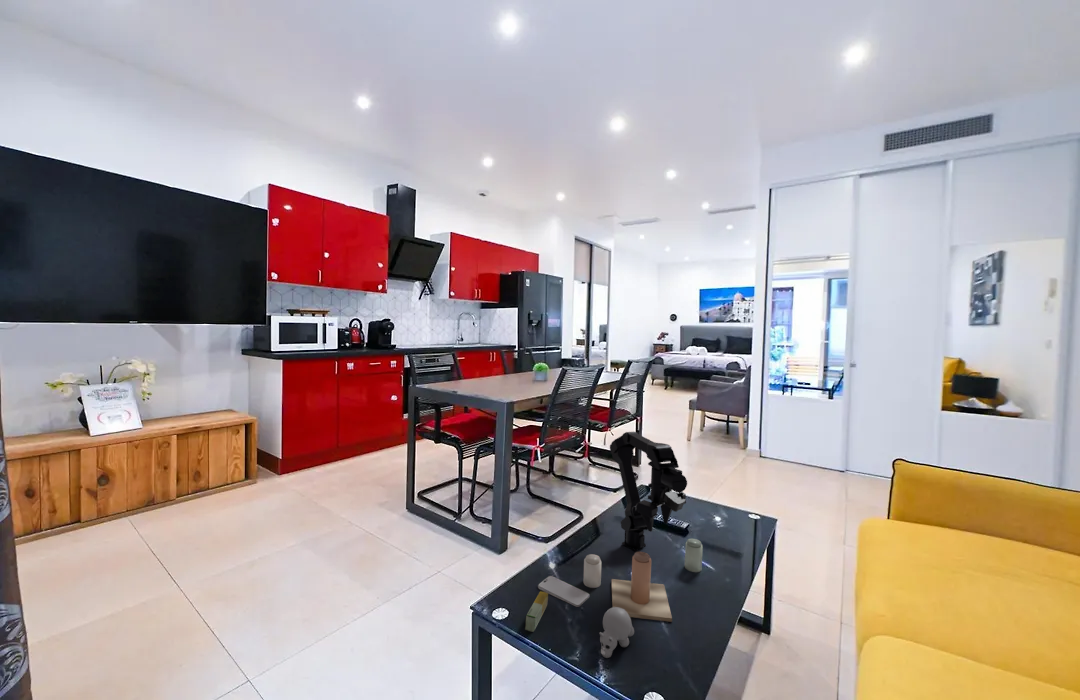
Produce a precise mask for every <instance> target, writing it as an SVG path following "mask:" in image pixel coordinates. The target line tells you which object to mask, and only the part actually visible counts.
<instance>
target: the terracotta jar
mask: <svg viewBox="0 0 1080 700" xmlns="http://www.w3.org/2000/svg"><path fill="white" fill-rule="evenodd" d="M631 559H632V560H631V580H630V581H631V600H632V601H633V602H635V603H637V604H647V603H649V601H650V583H651V580H652V579H651V577H652V558H651V556H650V554H649V553H647V552H645V551H635V552H634V554H633V555H632V558H631Z"/></svg>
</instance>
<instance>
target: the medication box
mask: <svg viewBox="0 0 1080 700" xmlns="http://www.w3.org/2000/svg"><path fill="white" fill-rule="evenodd" d="M548 601H549V594H548V593H546V592H544V591H542V590H540V591H539V592H538V594H537V596H536V598H535V600H534V601H533V603H532V605H531V606H530V608H529V610H528V611H527V613H526V616H525V623H524V624H525V625H524V626H525V627H524V630H525V631H528V632H533V633H534V632H535V631H536V628H537V627H538V624H539V622H540V621H541V618H542V616H543V615H544V612H546V611H545V610H546V609H547V607H548Z"/></svg>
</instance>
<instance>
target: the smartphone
mask: <svg viewBox="0 0 1080 700" xmlns="http://www.w3.org/2000/svg"><path fill="white" fill-rule="evenodd" d="M537 588H538V589H539V590H540V591H541V592H545V593H548V595H551V596H553V597H555V598H557V599H559V600H561V601H563V602H565V603H568V604H570V605H572V606H574V607H576V608H577V607H581V606H582V605H583V604H584V603H585V602H586V601H587V600H588V599H589V598H590V595H591V594H590V593H589V592H587V591H585V590H583V589H580V588H579V587H576V586H574V585H572V584H571V583H568V582H566V581H563V580H561V578H557V577H555V576H553V575H548V576H547V577H546V578H544V579H543V580H542V581H540V583H538V584H537Z"/></svg>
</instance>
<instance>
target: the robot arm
mask: <svg viewBox="0 0 1080 700" xmlns="http://www.w3.org/2000/svg"><path fill="white" fill-rule="evenodd" d="M635 449H637V450H640V451H641V452H643V453H645V454H646V457H647V459H648V460H649V461H648V463H647V465H648V466H650V467H651V471H650V472H651V473H650V474H651V475H650V477H651V478H650V482H649V483H648V487H647V488H650V494H649V495H647V499H648V500H650V501H651V502H650V501H648V500H645V499H643V500H641V497H640V493H639V489H638V484H637V480H636V477H635V473H634V468H633V467H634V466H633V463H632V461H633V457H634V454H635V453H634V450H635ZM609 452H610V453H611V456H612V459H613V460H614V461H615V463H617V465H618V468H619V473H620V476H621V481H622V486H623V490H624V495H625V499H626V507H625V510H624V516H625V517H624V518H623V519H622V520H620V527H621V529H622V530H623V531H624V541H622V542H621V545H622V546H624V547H626V548H629V549H631V550H633V551H635V552H638V551H639V550H641V549H642V548H645V547H646V546H647V544H646V543H645V538H646V537H645V531H647V530H648V532H650V533H651V532H653V527H654V520H655V518H656V517H657V516H658V511H659V509H658V508H659V507H660V510H661V517H662V520H663V524H665V525H667V524H668V522H669V520H670V517H671V515H672V512H674V513H677V512H678V511H680V510H682V509H683V507H684V505H686V504H687V502H686V501H687V496H686V493H685V492H684V491H685V490H686V488H687V486H688V480H687V477H686V476H685V475H684V474H683V471H682V470H680V469H678V468H679V467H680V466H679V464H678V459H677V457H676V455H675V453H674V452H675V451H674V450H673V448H672V446H671V445H670V444H667V443H662V442H655V441H652V440H650V439H648V438H647V437H644V436H643V435H641V434H639V433H638V432H637V431H626V432H623V434H621V436H619V437H617V438H615V439H614V440H613V441H611V443H610V445H609Z"/></svg>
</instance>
